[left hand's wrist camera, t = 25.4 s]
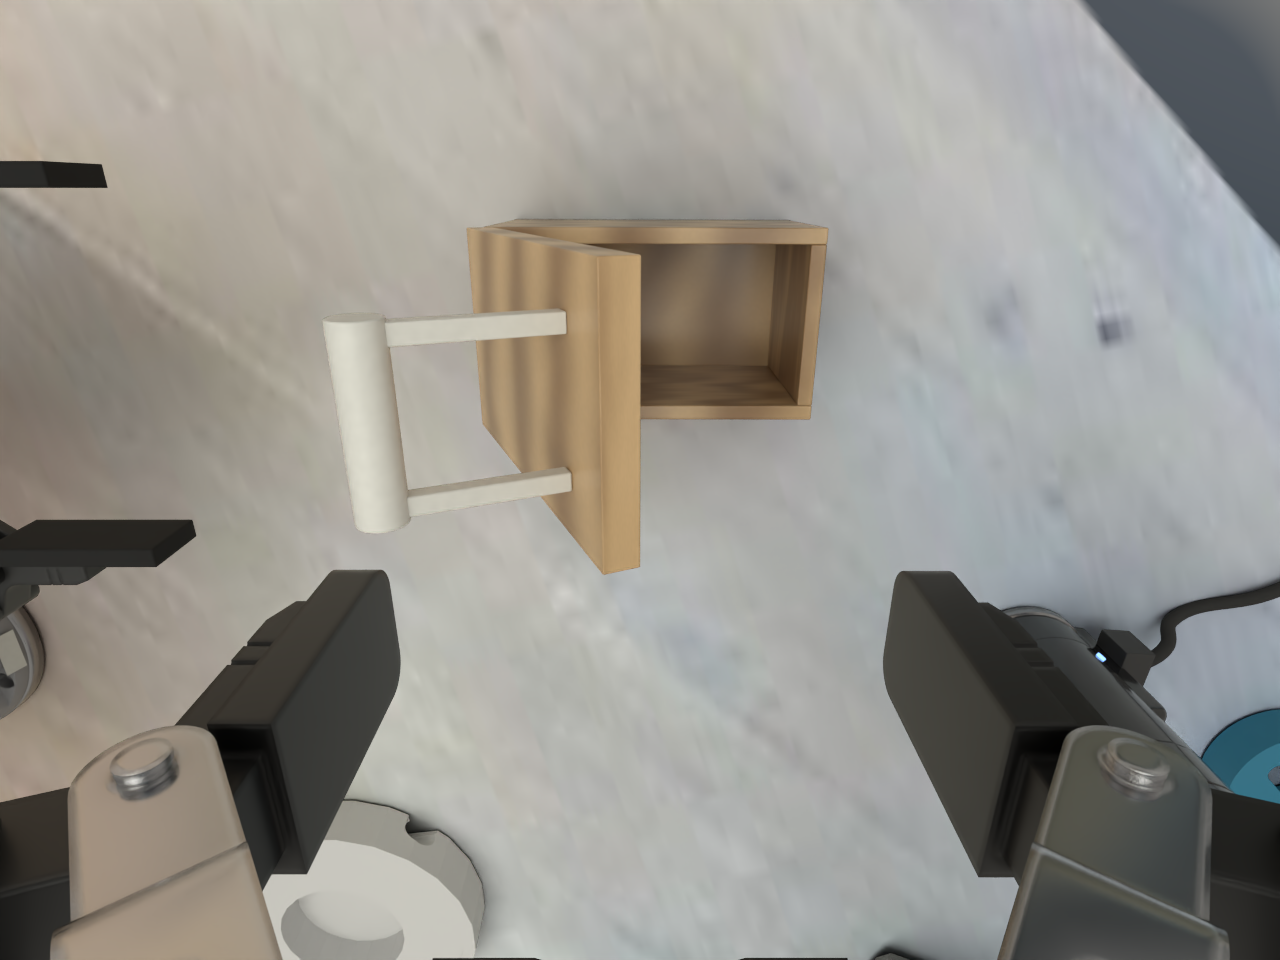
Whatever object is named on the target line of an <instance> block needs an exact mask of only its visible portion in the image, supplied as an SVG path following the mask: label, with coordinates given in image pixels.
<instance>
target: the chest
mask: <svg viewBox="0 0 1280 960" xmlns="http://www.w3.org/2000/svg"><path fill="white" fill-rule="evenodd" d="M486 227H494V228H499V229H505V230H510V231H515V232H521V233H526V234H531V235H537V236H542V237H548V238H553V239H558V240H564V241H569V242H575V243H580V244H585V245H591V246H596V247H601V248H607V249H612V250H618V251H623V252H628V253H634V254H639V255H641V402H640V419H810V416H811V405H812V396H813V385H814V375H815V364H816V354H817V343H818V333H819V322H820V312H821V301H822V290H823V280H824V269H825V259H826V248H827V245H826V244H827V238H828V228H826V227H820V226H815V225H810V224H805V223H799V222H794V221H790V220H644V219H515V220H512V221H508V222H504V223H499V224H495V225H490V226H486Z"/></svg>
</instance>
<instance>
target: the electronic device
mask: <svg viewBox="0 0 1280 960" xmlns="http://www.w3.org/2000/svg"><path fill="white" fill-rule="evenodd" d="M875 960H910V959H907V958H904V957H901V956H898V955H896V954H893V953H889V954H886V955H883V956H879V957H876V959H875Z"/></svg>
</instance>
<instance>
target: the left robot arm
mask: <svg viewBox="0 0 1280 960" xmlns="http://www.w3.org/2000/svg"><path fill="white" fill-rule="evenodd" d="M1278 597H1280V582H1278V583H1276V584H1273V585H1271V586H1268V587H1265V588H1263V589H1259V590H1256V591H1253V592H1249V593H1244V594H1239V595H1232V596H1225V597H1217V598H1210V599H1204V600H1199V601H1194V602H1191V603H1188V604H1185V605H1182V606H1180V607H1177V608H1176V609H1174V610H1172V611H1171V612H1170V613H1168V614H1167V615H1166V616H1165V617H1164V618H1163V619H1162V622H1161V626H1160V633H1161V641H1160V643H1159V644H1158V645H1157V646H1156V647H1155V648H1154V649H1153V650H1152V651H1151V650H1150V649H1148V648H1147V647H1146V646H1145V645H1144V644H1143V643H1142V642H1141V641H1139V640H1138V639H1137V638H1136V637H1135V636H1134V635H1133V634H1132V633H1131V632H1129V631H1120V630H1105V629H1102V630H1101V633H1100V635H1099V638H1098V641H1096V640H1095V639H1094V638H1093V637H1092V636H1091V635H1090V634H1089V633H1088V632H1087V631H1086V630H1085V629H1083V628H1074V627H1072V626H1071V625H1070V624H1069V622H1067V621H1066V620H1065V619H1064V618H1063V617H1061V616H1060V615H1058V614H1057V613H1055V612H1052V611H1050V610H1047V609H1043V608H1037V607H1019V608H1013V609H1009V610H1005V611H1001V610H999V609H997V608H996V607H994V606H993V605H991V604H989V603H978V602H977V601H976V599H975V598H974V597H973V596H972V595H971V593H970V592H969V591H968V590H967V588H966V587H965V586H964V585H963V584H962V582H961V581H960V580H959V579H958V578H957V576H956V575H955V574H954V573H952V572H951V571H901V572H900V573H899V574H898V575H897V577H896V580H895V583H894V589H893V595H892V602H891V609H890V615H889V622H888V629H887V635H886V642H885V648H884V656H883V671H884V679H885V685H886V689H887V692H888V695H889V697H890V699H891V701H892V703H893V705H894V707H895V709H896V711H897V713H898V715H899V717H900V719H901V721H902V723H903V725H904V727H905V729H906V731H907V733H908V735H909V737H910V739H911V742H912V744H913V746H914V748H915V750H916V752H917V754H918V756H919V758H920V760H921V762H922V764H923V766H924V768H925V770H926V772H927V774H928V776H929V778H930V780H931V782H932V784H933V786H934V788H935V790H936V792H937V794H938V796H939V798H940V800H941V802H942V804H943V806H944V808H945V810H946V812H947V814H948V816H949V818H950V820H951V823H952V825H953V827H954V829H955V831H956V833H957V835H958V837H959V839H960V841H961V843H962V845H963V847H964V849H965V851H966V853H967V855H968V857H969V859H970V861H971V863H972V865H973V867H974V869H975V871H976V873H977V875H978V877H1014V878H1015V880H1016V882H1017V883H1018V885H1019V889H1018V892H1017V895H1016V899H1015V902H1014V905H1013V909H1012V912H1011V915H1010V919H1009V922H1008V925H1007V929H1006V932H1005V935H1004V939H1003V942H1002V945H1001V949H1000V952H999V955H998V959H997V960H1280V804H1279V803H1274V802H1270V801H1265V800H1261V799H1256V798H1252V797H1247V796H1243V795H1238V794H1236V793H1235V792H1234V791H1233V790H1232V789H1231V788H1230V787H1229V786H1228V785H1227V784H1226V783H1225V782H1224V781H1223V780H1222V779H1221V778H1220V777H1219V776H1218V775H1217V774H1216V773H1215V772H1214V771H1213V770H1212V769H1211V768H1210V767H1209V766H1208V765H1207V764H1206V763H1205V762H1204V761H1203V760H1202V759H1201V758H1200V757H1199V756H1198V755H1197V754H1196V753H1195V752H1194V751H1193V750H1192V749H1191V748H1190V747H1189V746H1188V745H1187V744H1186V743H1185V742H1184V741H1183V740H1182V739H1181V738H1180V737H1179V736H1178V735H1177V734H1176V733H1175V732H1174V731H1173V730H1172V729H1171V728H1170V727H1169V726H1168V725H1167V724H1166V723H1165V720H1166V717H1167V713H1166V710H1165V709H1164V707H1163V706H1162V705H1161V704H1160V703H1159V702H1158V701H1157V700H1156V699H1155V698H1154V697H1153V696H1152V695H1151V694H1150V693H1149V692H1148V691H1146V690H1145V689H1144V688H1143V685H1144V683H1145V680H1146V678H1147V675H1148V673H1149V670H1150V668H1151V667H1153V666H1155V665H1157V664H1159V663H1160V662H1162V661H1163V660H1165V659H1166V658H1167V657H1168V656H1169V655H1170V654H1171V653H1172V651H1173V650H1174V648H1175V645H1176V631H1175V627H1176V626H1177V625H1178V624H1179V623H1180V622H1182V621H1183V620H1185V619H1186V618H1188V617H1190V616H1193V615H1196V614H1199V613H1203V612H1208V611H1214V610H1221V609H1229V608H1237V607H1244V606H1249V605H1254V604H1259V603H1263V602H1266V601H1269V600H1272V599H1275V598H1278ZM247 643H248V644H247V646H243V648H242V649H241V650H240V651H239V652H238V653H237V654H236V656H235V657H234V658H233V659H232V660H231V661H232V663H231V665H227V666H226V667H225V668H224V669H223V671H222V672H221V673H220V674H219V675H218V676H217V677H216V679H215V680H214V681H213V682H212V683H211V684H210V685H209V687H208V688H207V689H206V690H205V691H204V692H203V693H202V695H201V696H200V697H199V698H198V699H197V700H196V701H195V703H194V704H193V705H192V706H191V707H190V708H189V710H188V711H187V712H186V713H185V714H184V715H183V716H182V718H181V719H180V720H179V721H178V722H177V723H176V724H175V726H168V727H162V728H158V729H153V730H150V731H147V732H143V733H140V734H138V735H135V736H133V737H130V738H128V739H126V740H124V741H122V742H120V743H117V744H116V745H114V746H112V747H110V748H109V749H107V750H105V751H104V752H102V753H101V754H100V755H98V756H97V757H95V758H94V759H93V760H92V761H91V762H89V763H88V764H87V765H86V766H85V767H84V768H83V769H82V770H81V771H80V772H79V774H78V775H77V776H76V778H75V779H74V781H73V782H72V784H71V786H70V787H68V788H64V789H59V790H55V791H50V792H46V793H41V794H37V795H32V796H28V797H23V798H19V799H14V800H10V801H5V802H0V960H283V959H282V955H281V952H280V949H279V945H278V942H277V939H276V935H275V932H274V929H273V925H272V922H271V919H270V915H269V912H268V909H267V905H266V902H265V899H264V895H263V890H264V888H265V886H266V884H267V882H268V880H269V879H270V877H271V875H272V874H307V873H308V871H309V869H310V867H311V865H312V863H313V861H314V859H315V857H316V855H317V853H318V851H319V849H320V847H321V845H322V843H323V841H324V838H325V836H326V834H327V832H328V830H329V828H330V826H331V824H332V822H333V820H334V818H335V816H336V814H337V812H338V810H339V808H340V806H341V804H342V802H343V800H344V797H345V795H346V793H347V791H348V789H349V787H350V785H351V783H352V781H353V779H354V777H355V775H356V773H357V771H358V769H359V767H360V765H361V763H362V761H363V759H364V756H365V754H366V752H367V750H368V748H369V746H370V744H371V742H372V740H373V738H374V736H375V734H376V732H377V730H378V728H379V726H380V724H381V722H382V720H383V718H384V715H385V713H386V711H387V709H388V707H389V705H390V703H391V701H392V699H393V697H394V695H395V692H396V689H397V686H398V682H399V676H400V649H399V643H398V636H397V629H396V622H395V616H394V609H393V602H392V596H391V589H390V583H389V579H388V577H387V574H386V573H385V572H384V571H383V570H333V571H331V572H330V573H329V574H328V575H327V577H326V578H325V579H324V580H323V582H322V583H321V584H320V585H319V587H318V588H317V589H316V590H315V591H314V593H313V594H312V595H311V596H310V598H309V599H308V600H307V601H296V602H294V603H293V604H291V605H290V606H288V607H287V608H285V609H283V610H282V611H280V612H279V613H277V614H275V615H274V616H272V617H271V618H269V619H267V620H266V621H265V622H264V623H263V625H262V626H261V627H260V628H259V629H258V630H257V632H256V633H255V634H254V635H253V636H252V637H251V638H250V640H249V641H248V642H247ZM432 960H540V959H536V958H433V959H432ZM740 960H848V959H847V958H744V959H740Z"/></svg>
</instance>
